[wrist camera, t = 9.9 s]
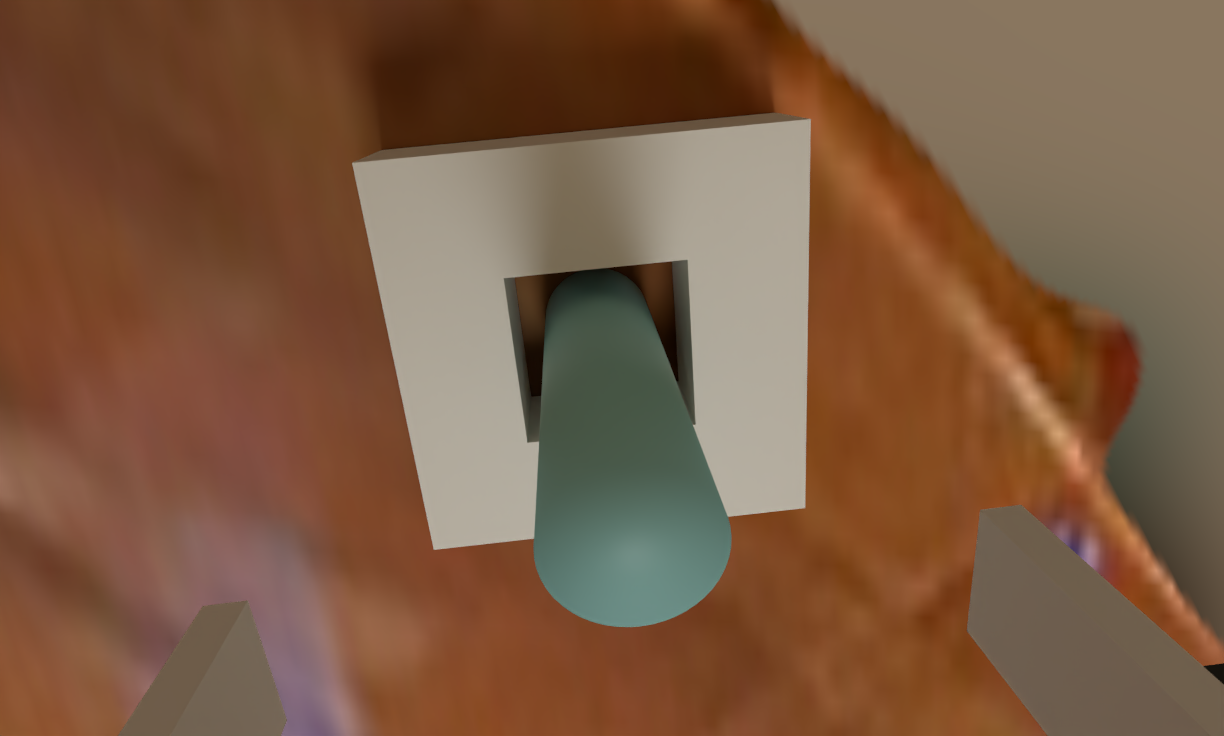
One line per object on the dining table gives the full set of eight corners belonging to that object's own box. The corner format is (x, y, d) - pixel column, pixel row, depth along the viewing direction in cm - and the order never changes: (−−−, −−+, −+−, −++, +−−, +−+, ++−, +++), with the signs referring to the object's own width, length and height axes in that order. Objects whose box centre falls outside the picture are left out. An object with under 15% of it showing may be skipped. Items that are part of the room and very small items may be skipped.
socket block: (448, 493, 31) (433, 549, 28) (381, 150, 26) (352, 163, 22) (776, 457, 32) (804, 508, 28) (775, 112, 26) (810, 119, 23)
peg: (551, 370, 30) (546, 637, 16) (539, 273, 28) (521, 472, 14) (651, 360, 30) (733, 615, 16) (644, 262, 28) (728, 449, 14)
